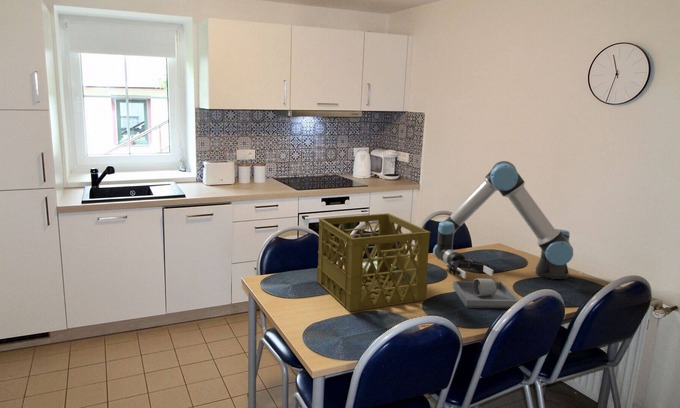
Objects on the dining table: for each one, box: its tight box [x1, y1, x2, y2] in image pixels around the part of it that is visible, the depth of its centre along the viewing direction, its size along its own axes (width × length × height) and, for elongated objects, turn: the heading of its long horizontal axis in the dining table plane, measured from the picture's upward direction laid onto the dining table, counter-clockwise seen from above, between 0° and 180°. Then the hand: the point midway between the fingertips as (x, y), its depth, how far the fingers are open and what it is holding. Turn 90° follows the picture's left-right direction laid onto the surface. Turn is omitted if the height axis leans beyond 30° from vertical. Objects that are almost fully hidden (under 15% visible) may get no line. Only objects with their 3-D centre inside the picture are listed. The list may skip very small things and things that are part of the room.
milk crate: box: [316, 212, 432, 312], centre depth 219 cm, size 36×35×30 cm
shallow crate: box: [452, 280, 520, 309], centre depth 219 cm, size 22×22×3 cm
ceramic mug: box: [472, 278, 497, 297], centre depth 220 cm, size 11×8×8 cm
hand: (478, 274), depth 222 cm, fingers open, 13 cm apart
